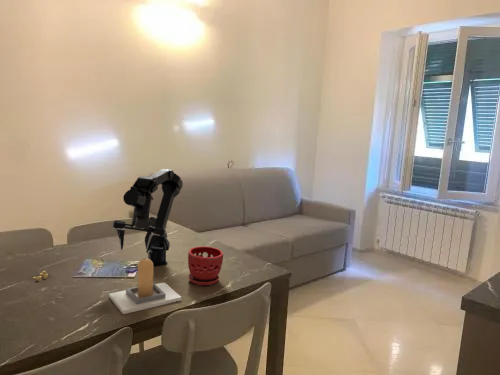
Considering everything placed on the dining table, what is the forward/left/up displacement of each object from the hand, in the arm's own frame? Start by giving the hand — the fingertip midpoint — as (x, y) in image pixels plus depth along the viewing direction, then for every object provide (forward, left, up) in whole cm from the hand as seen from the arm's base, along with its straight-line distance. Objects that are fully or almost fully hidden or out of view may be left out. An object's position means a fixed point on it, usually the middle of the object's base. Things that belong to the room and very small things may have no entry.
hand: (134, 251), depth 151 cm
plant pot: (-23, +13, -12) cm, 29 cm away
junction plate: (+2, +16, -12) cm, 20 cm away
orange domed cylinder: (+2, +16, -10) cm, 19 cm away
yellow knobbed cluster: (+28, -18, -12) cm, 36 cm away
